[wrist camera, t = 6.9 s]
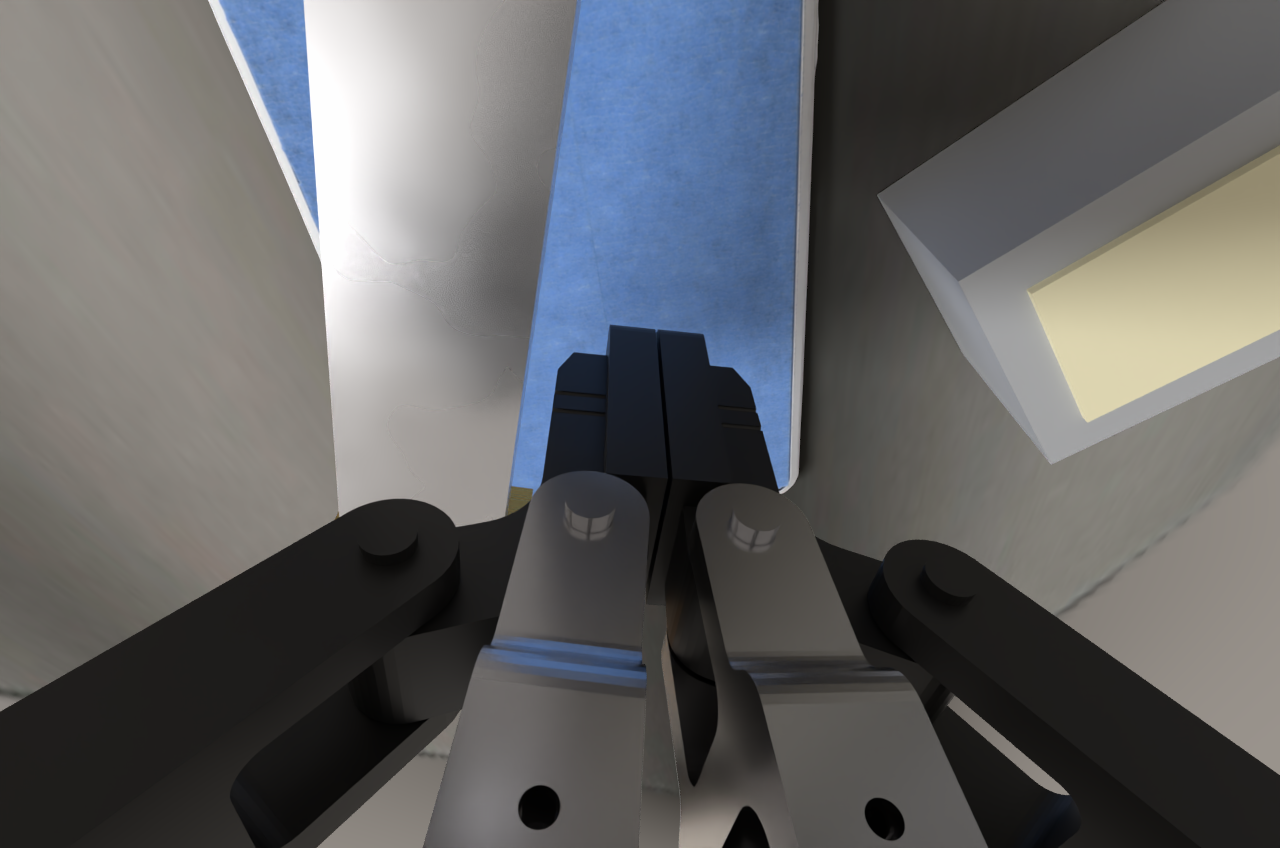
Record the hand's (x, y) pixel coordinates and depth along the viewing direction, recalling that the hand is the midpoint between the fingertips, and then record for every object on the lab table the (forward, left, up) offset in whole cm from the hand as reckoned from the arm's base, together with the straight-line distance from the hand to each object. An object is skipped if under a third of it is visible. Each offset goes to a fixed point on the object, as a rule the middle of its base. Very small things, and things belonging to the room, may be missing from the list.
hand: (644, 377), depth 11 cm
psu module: (-9, +6, -8) cm, 13 cm away
